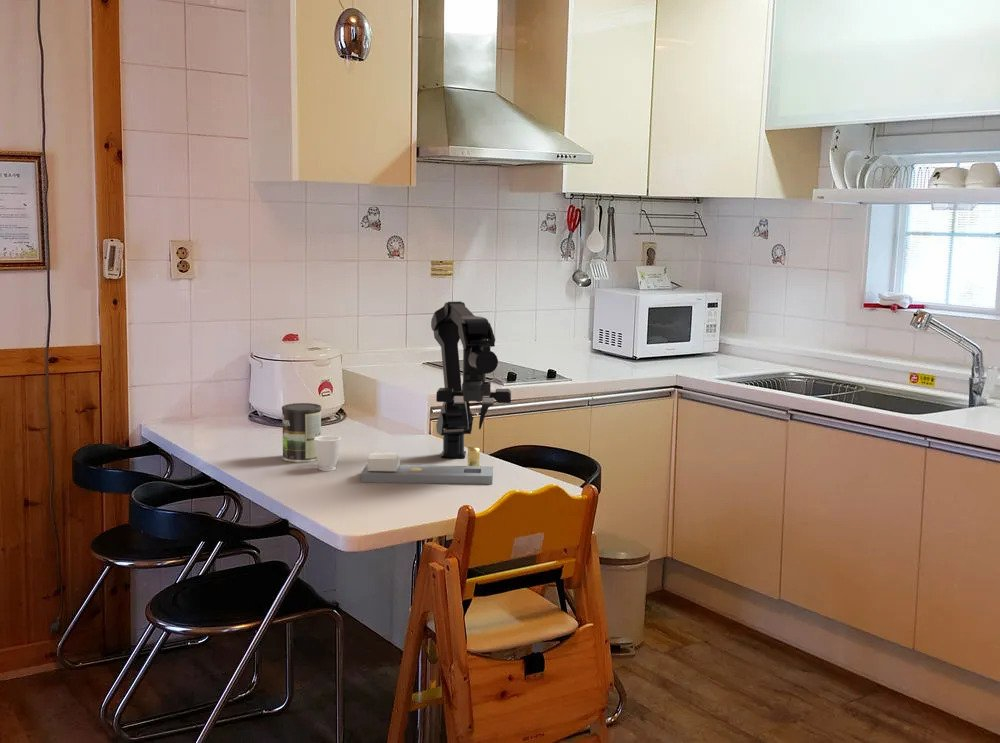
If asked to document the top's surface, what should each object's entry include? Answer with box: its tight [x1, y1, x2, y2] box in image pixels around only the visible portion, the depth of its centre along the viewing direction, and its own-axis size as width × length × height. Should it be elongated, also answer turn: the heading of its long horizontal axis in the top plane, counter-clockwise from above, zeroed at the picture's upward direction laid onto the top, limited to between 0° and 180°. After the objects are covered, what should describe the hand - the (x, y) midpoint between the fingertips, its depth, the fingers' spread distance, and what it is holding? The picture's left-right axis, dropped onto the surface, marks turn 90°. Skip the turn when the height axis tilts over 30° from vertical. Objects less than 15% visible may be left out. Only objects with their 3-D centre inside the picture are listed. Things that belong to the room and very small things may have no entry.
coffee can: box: [281, 402, 322, 464], centre depth 273 cm, size 10×10×14 cm
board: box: [360, 463, 494, 485], centre depth 255 cm, size 10×32×2 cm, turn 90°
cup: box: [314, 435, 341, 472], centre depth 264 cm, size 7×10×8 cm
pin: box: [467, 446, 481, 466], centre depth 263 cm, size 3×3×6 cm
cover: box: [367, 452, 400, 471], centre depth 255 cm, size 7×7×3 cm
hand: (473, 428), depth 262 cm, fingers open, 3 cm apart
